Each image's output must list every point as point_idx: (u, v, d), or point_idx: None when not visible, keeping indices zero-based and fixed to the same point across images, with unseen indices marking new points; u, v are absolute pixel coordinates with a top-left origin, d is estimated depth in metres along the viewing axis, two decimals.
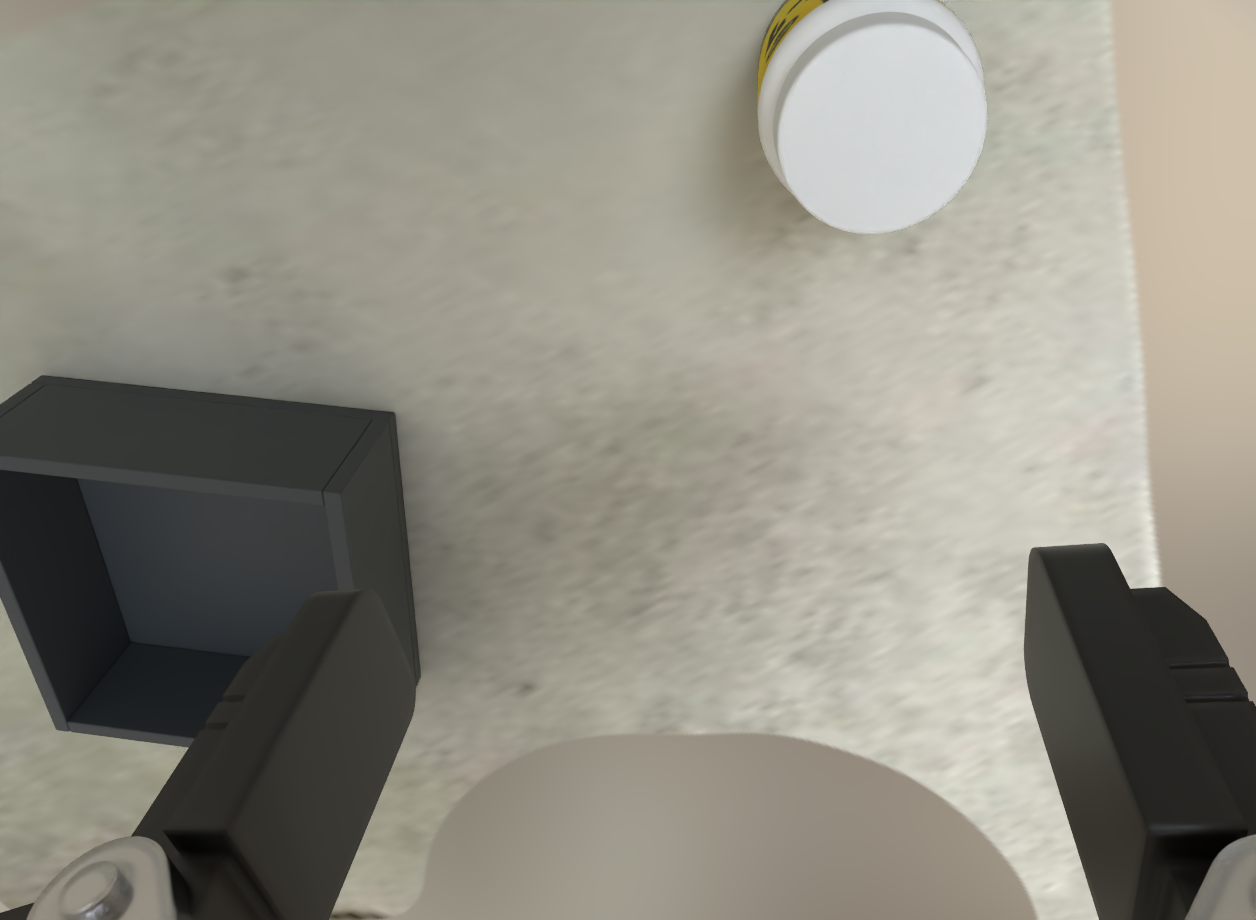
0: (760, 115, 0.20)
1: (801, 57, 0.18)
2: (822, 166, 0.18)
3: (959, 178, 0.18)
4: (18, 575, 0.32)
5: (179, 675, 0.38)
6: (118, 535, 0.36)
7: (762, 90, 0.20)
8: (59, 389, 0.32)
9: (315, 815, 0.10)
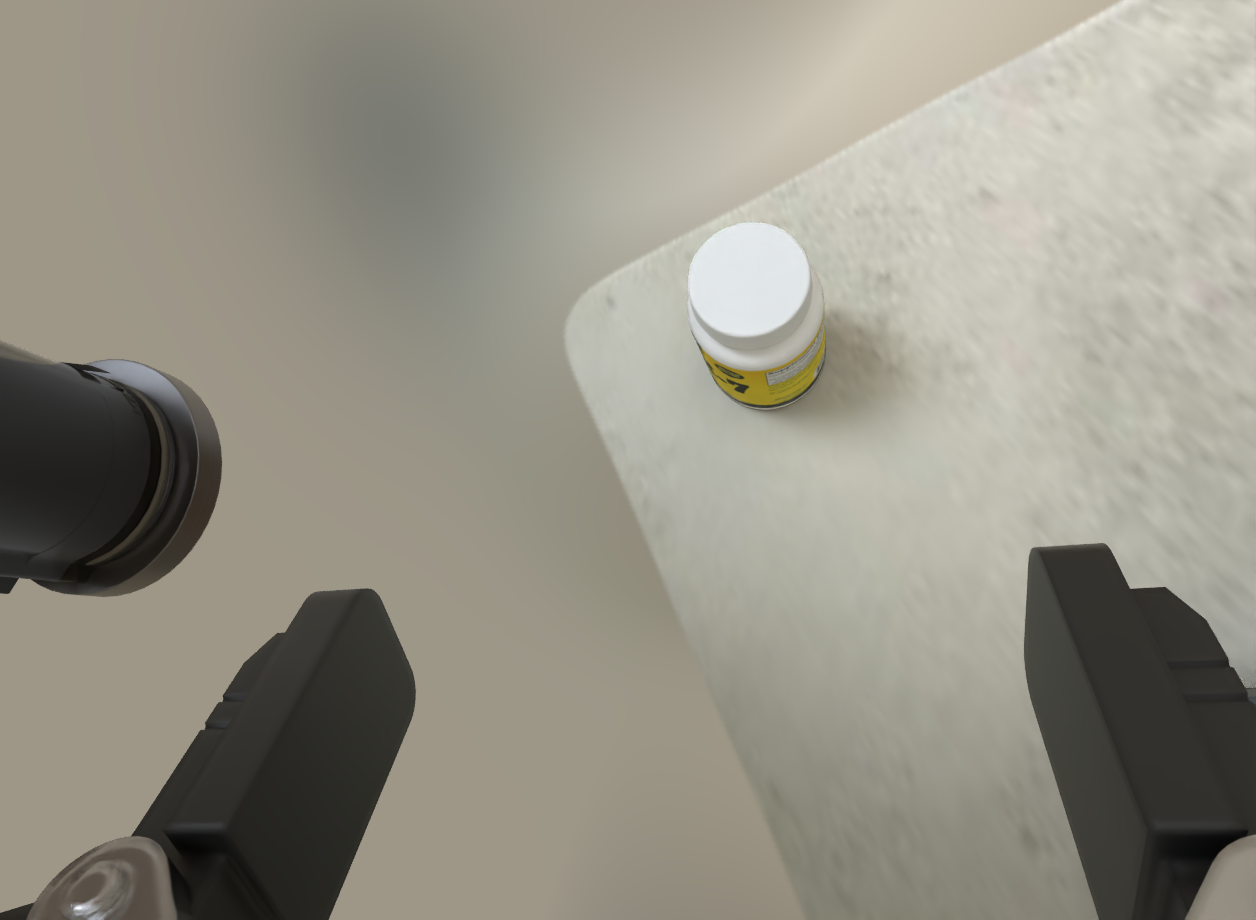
0: (765, 364, 0.31)
1: (718, 340, 0.30)
2: (771, 304, 0.29)
3: (765, 227, 0.30)
4: None
5: None
6: None
7: (751, 367, 0.31)
8: None
9: (314, 816, 0.10)
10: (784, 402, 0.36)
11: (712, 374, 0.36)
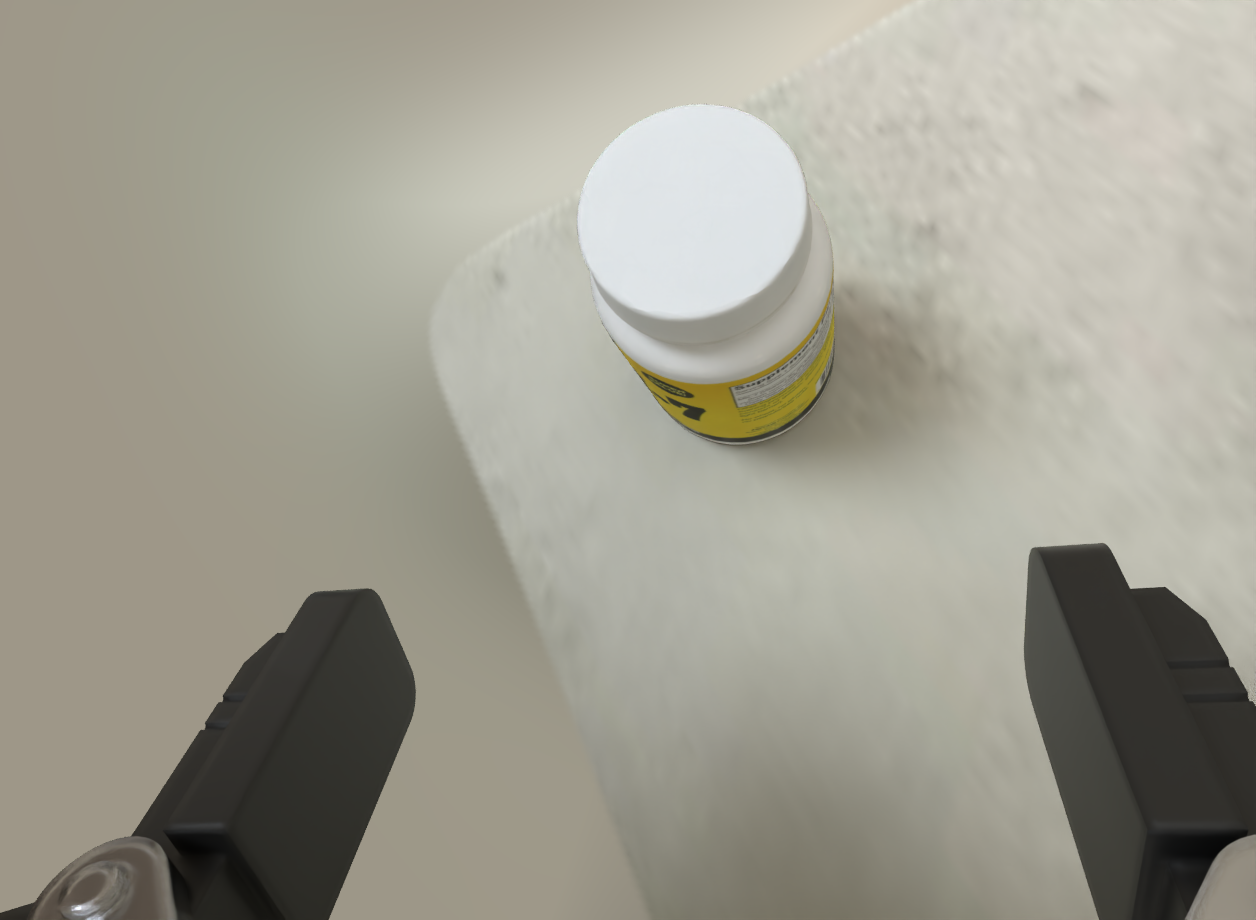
0: (728, 372, 0.17)
1: (638, 327, 0.16)
2: (732, 257, 0.15)
3: (722, 113, 0.16)
4: None
5: None
6: None
7: (702, 378, 0.17)
8: None
9: (315, 815, 0.10)
10: (768, 433, 0.22)
11: None
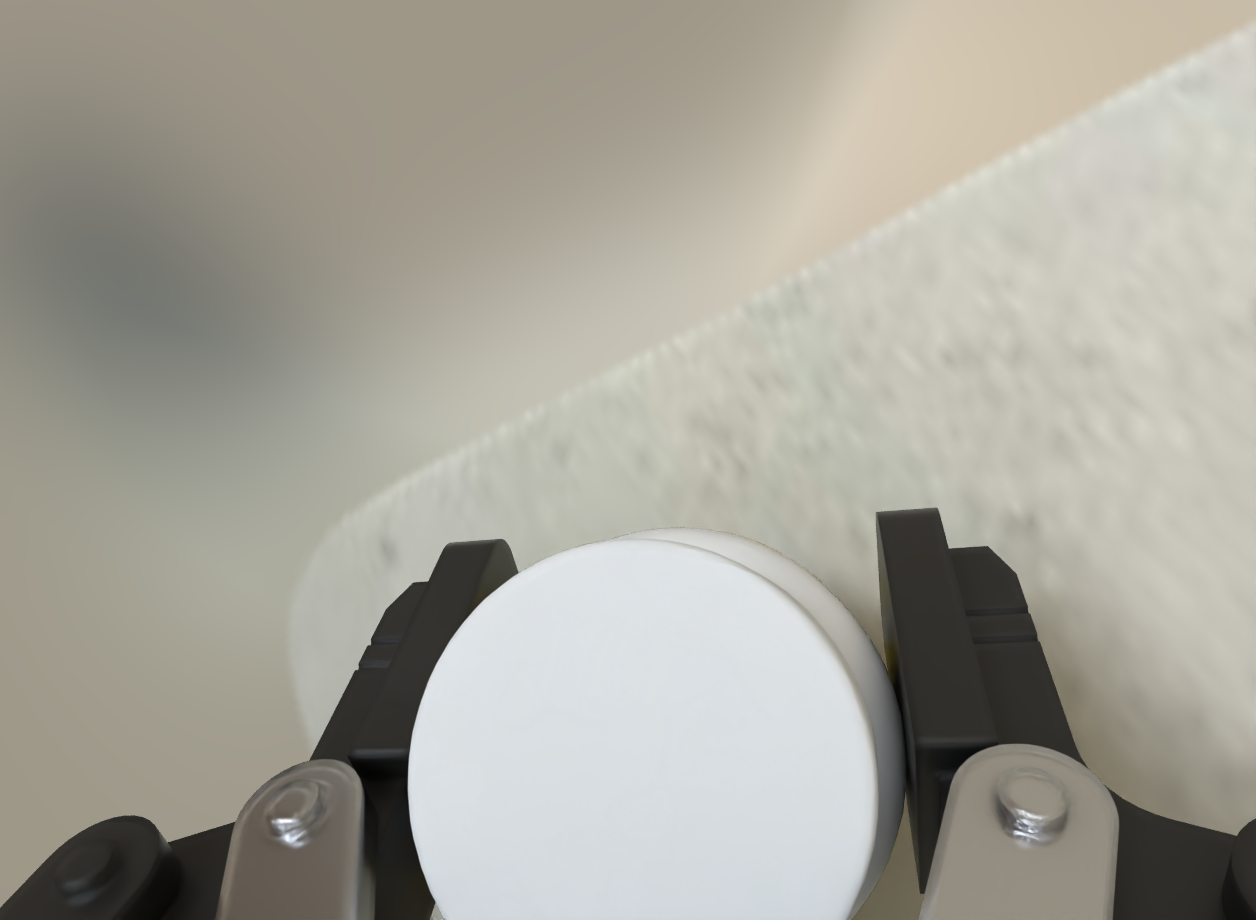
0: None
1: None
2: (716, 912, 0.07)
3: (698, 568, 0.08)
4: None
5: None
6: None
7: None
8: None
9: None
10: None
11: None
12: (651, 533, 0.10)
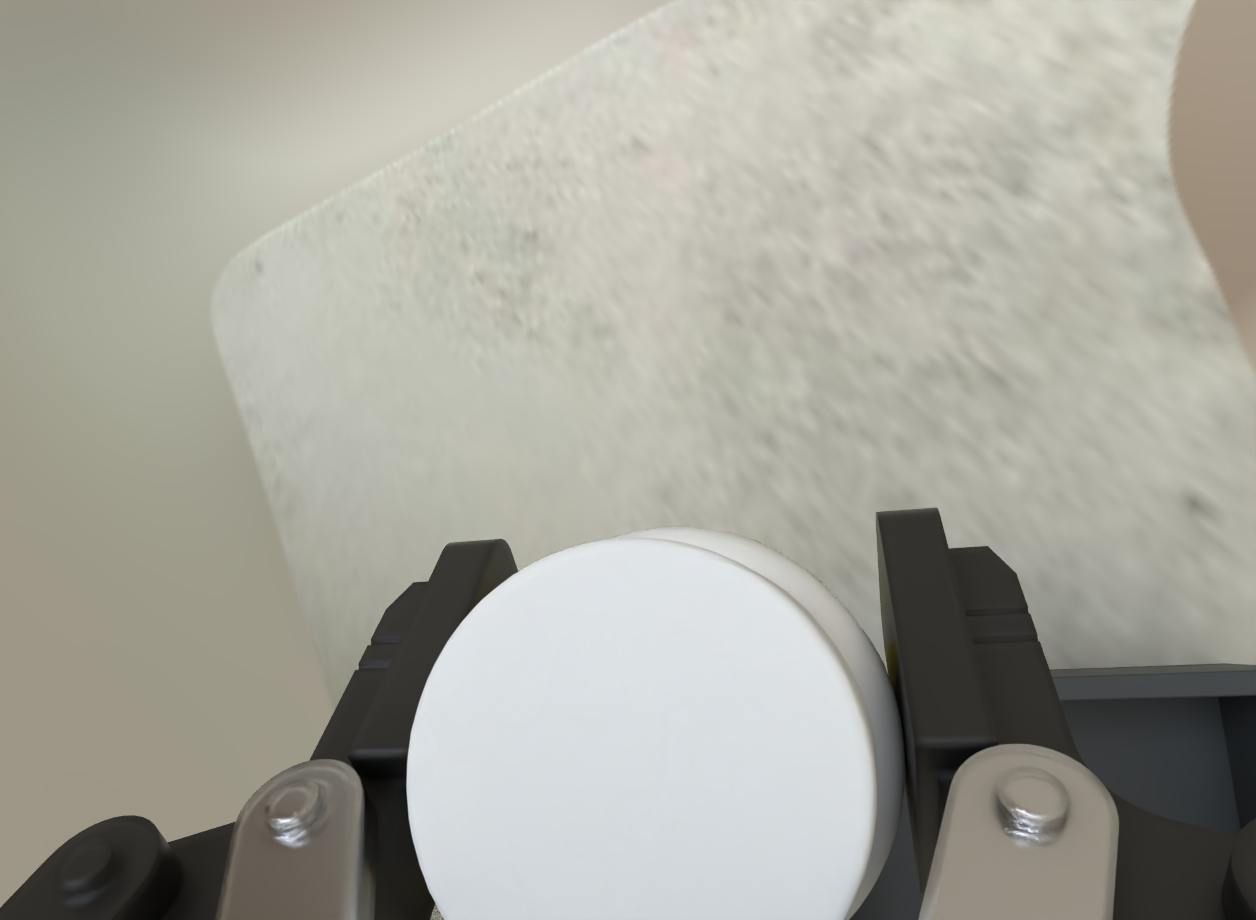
0: None
1: None
2: (715, 910, 0.07)
3: (697, 568, 0.08)
4: None
5: None
6: None
7: None
8: None
9: None
10: None
11: None
12: (650, 532, 0.10)
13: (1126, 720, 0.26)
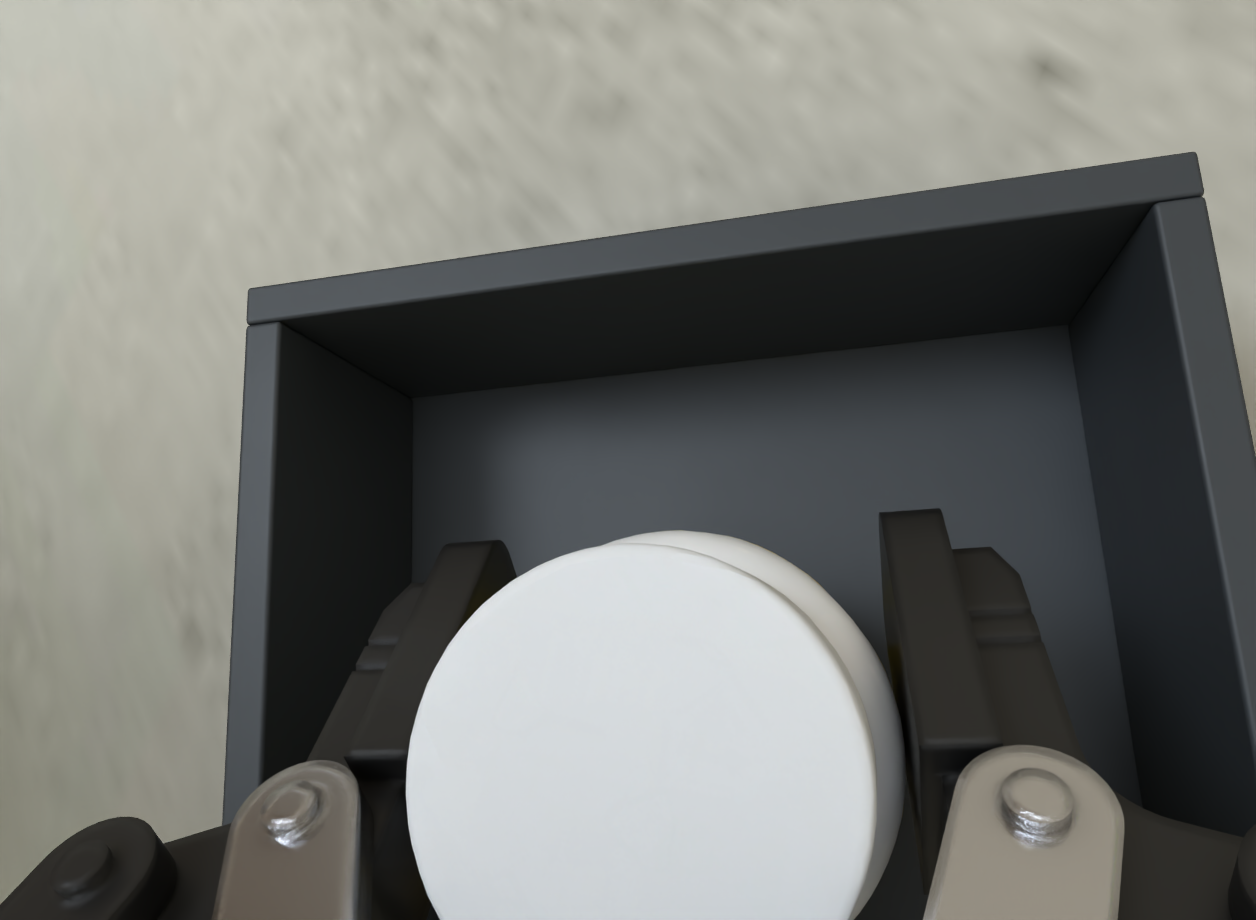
0: None
1: None
2: (715, 917, 0.07)
3: (696, 573, 0.08)
4: None
5: None
6: None
7: None
8: None
9: None
10: None
11: None
12: (650, 536, 0.10)
13: (921, 389, 0.16)
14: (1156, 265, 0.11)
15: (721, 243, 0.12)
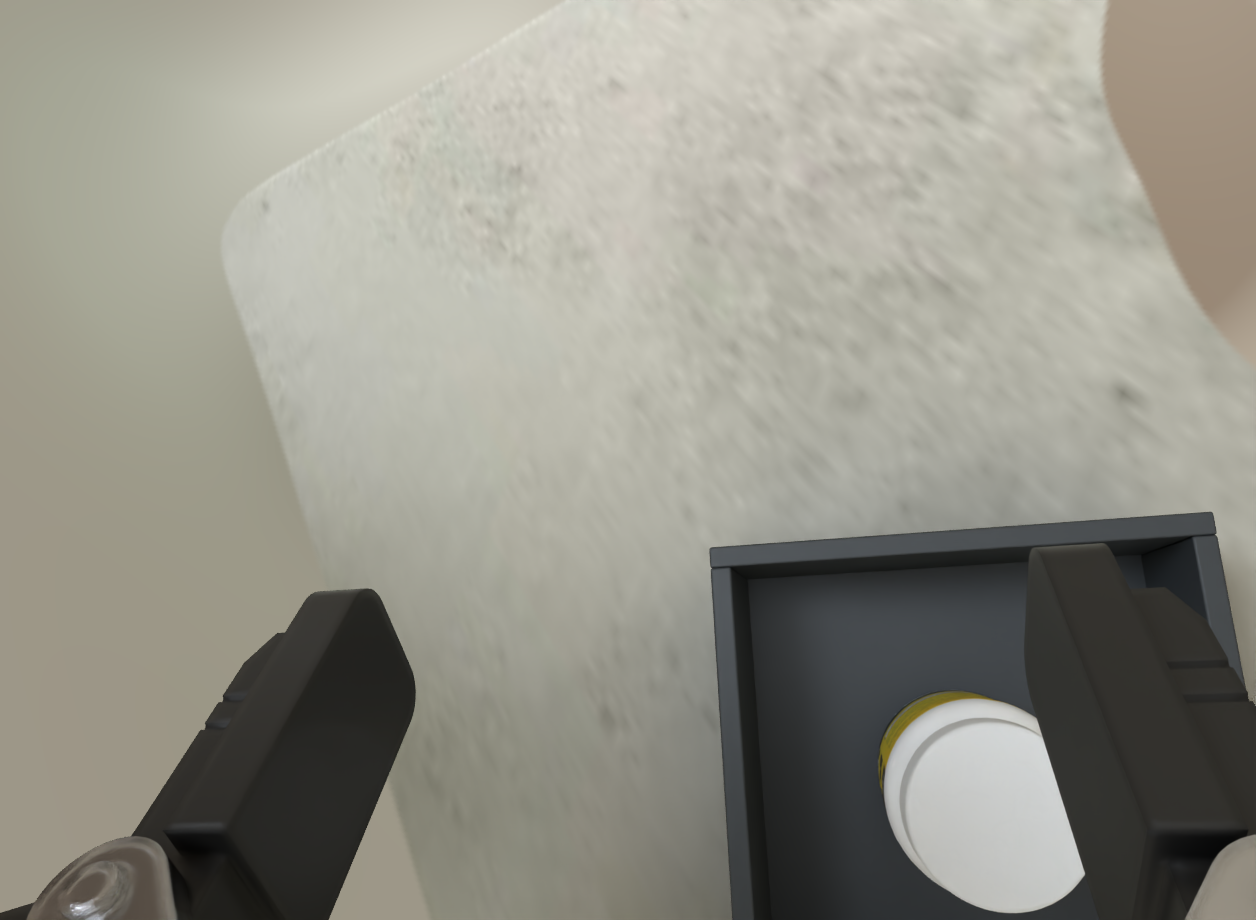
0: None
1: None
2: (1039, 865, 0.20)
3: (1022, 736, 0.20)
4: None
5: None
6: None
7: None
8: None
9: (315, 816, 0.10)
10: None
11: None
12: (969, 703, 0.22)
13: None
14: (1193, 565, 0.24)
15: (974, 541, 0.25)
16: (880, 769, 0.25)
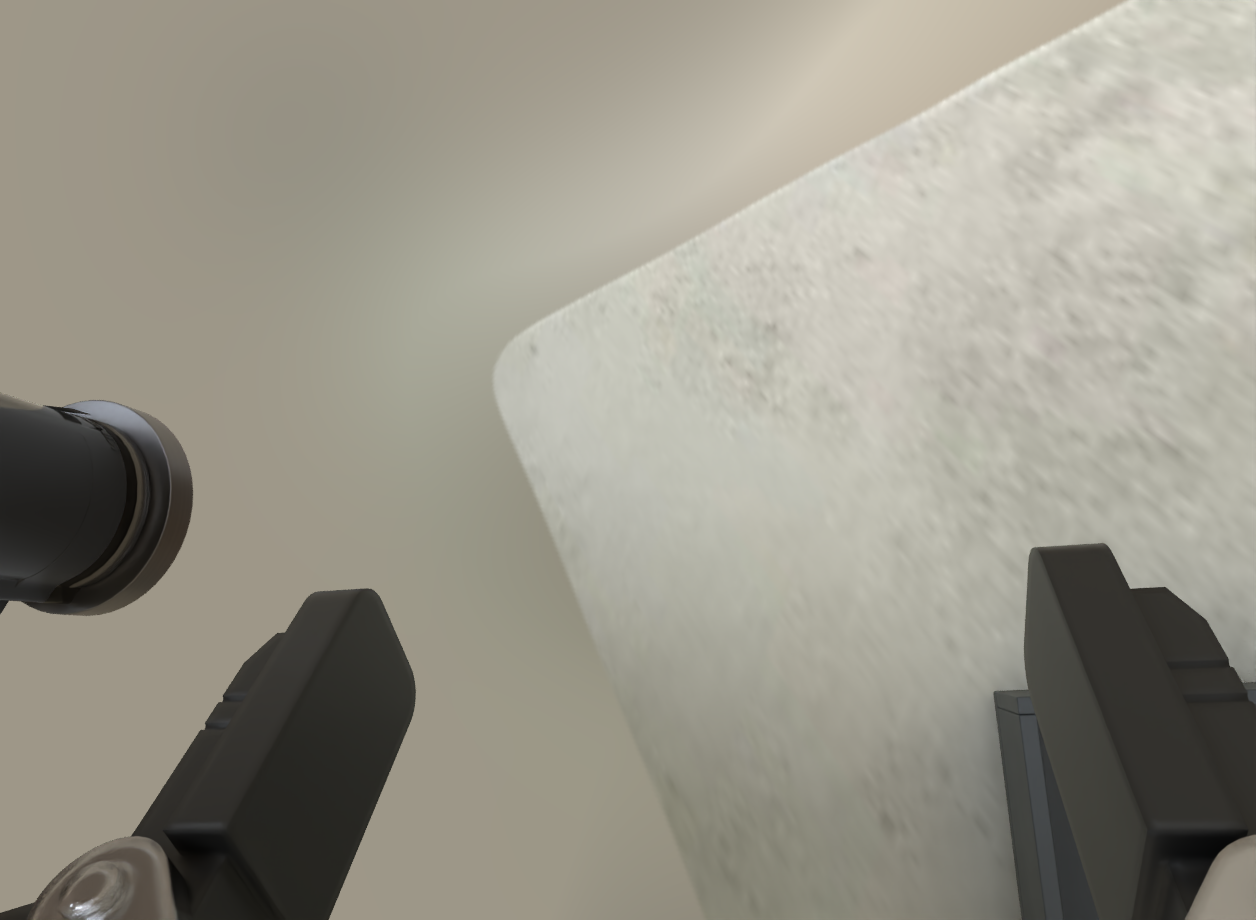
0: None
1: None
2: None
3: None
4: None
5: None
6: None
7: None
8: None
9: (315, 815, 0.10)
10: None
11: None
12: None
13: None
14: None
15: (1252, 700, 0.30)
16: None
